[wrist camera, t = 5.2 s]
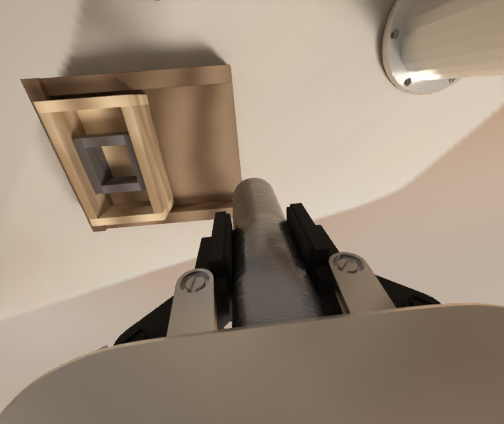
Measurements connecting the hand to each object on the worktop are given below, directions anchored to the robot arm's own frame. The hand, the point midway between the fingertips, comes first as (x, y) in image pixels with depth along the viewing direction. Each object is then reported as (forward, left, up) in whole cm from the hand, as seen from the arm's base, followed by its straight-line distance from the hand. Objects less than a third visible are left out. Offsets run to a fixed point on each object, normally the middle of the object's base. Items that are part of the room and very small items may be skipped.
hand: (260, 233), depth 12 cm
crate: (+16, 0, -20) cm, 25 cm away
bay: (+12, 0, -21) cm, 25 cm away
